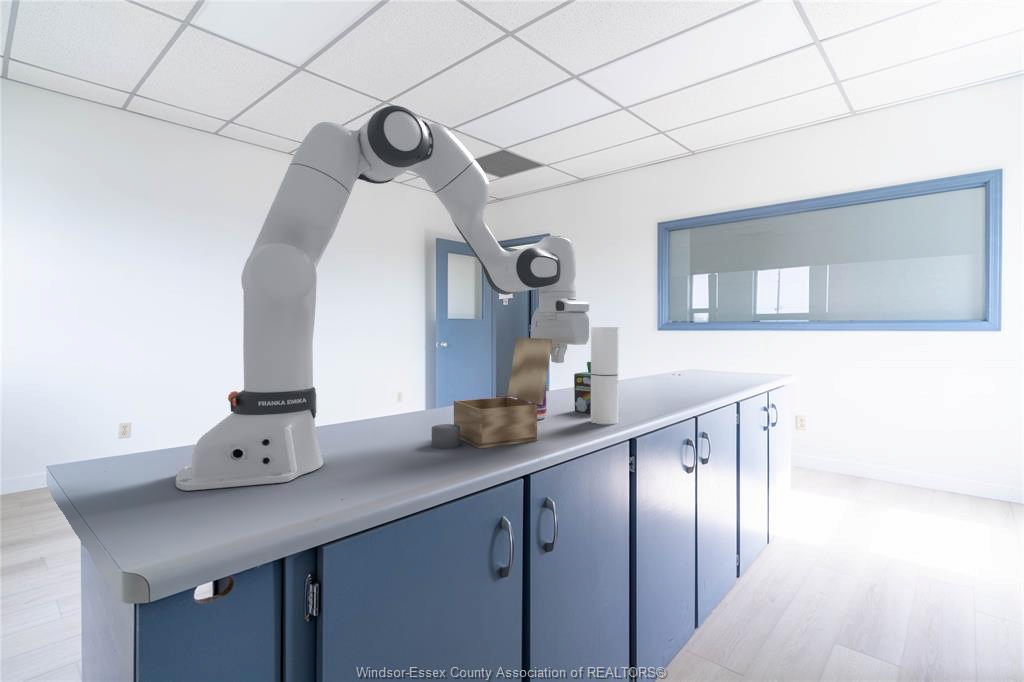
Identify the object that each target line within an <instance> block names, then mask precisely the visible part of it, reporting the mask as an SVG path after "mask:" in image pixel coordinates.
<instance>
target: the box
mask: <svg viewBox="0 0 1024 682" xmlns="http://www.w3.org/2000/svg"><path fill="white" fill-rule="evenodd" d="M453 424H454V425H459V426H460V440H463V441H464V442H465V443H468V444H470V445H472V446H473V447H475V448H478V449H486V448H494V447H500V446H501V447H502V446H509V445H514V444H515V445H516V444H525V443H531V442H532V443H533V442H537V441H538V420H537V405H536V404H532V403H529V402H525V401H521V400H517V398H513V397H509V396H498V397H489V398H487V397H485V398H475V399H473V398H472V399H461V400H453Z"/></svg>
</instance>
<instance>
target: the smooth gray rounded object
mask: <svg viewBox="0 0 1024 682" xmlns="http://www.w3.org/2000/svg"><path fill="white" fill-rule="evenodd" d="M460 446H461V439H460V426H459V425H454V423H452V424H451V423H444V424H437V425H436V424H435V425H433V426H431V447H432V448H434V449H439V450H447V449H456V448H458V447H460Z"/></svg>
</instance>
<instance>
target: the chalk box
mask: <svg viewBox="0 0 1024 682" xmlns="http://www.w3.org/2000/svg"><path fill="white" fill-rule="evenodd" d="M586 367H587V371H584V372H583V371H582V372H575V373H574V374H573V381H574V382H573V384H574V386H573V389H574V390H573V391H574V412H580V413H585V414H590V415H591V361H587V362H586Z"/></svg>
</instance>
